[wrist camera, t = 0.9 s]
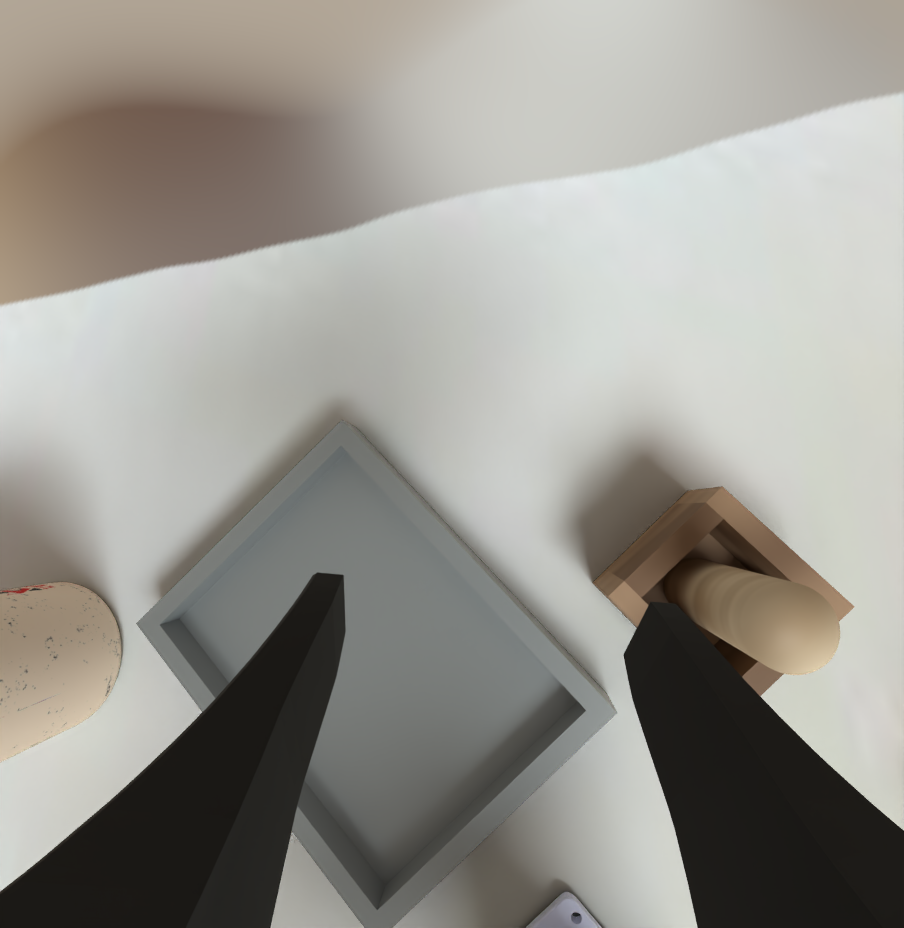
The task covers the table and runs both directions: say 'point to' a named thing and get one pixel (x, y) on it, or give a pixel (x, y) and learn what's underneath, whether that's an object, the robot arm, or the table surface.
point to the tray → (387, 672)
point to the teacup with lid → (53, 661)
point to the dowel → (757, 614)
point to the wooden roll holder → (717, 540)
